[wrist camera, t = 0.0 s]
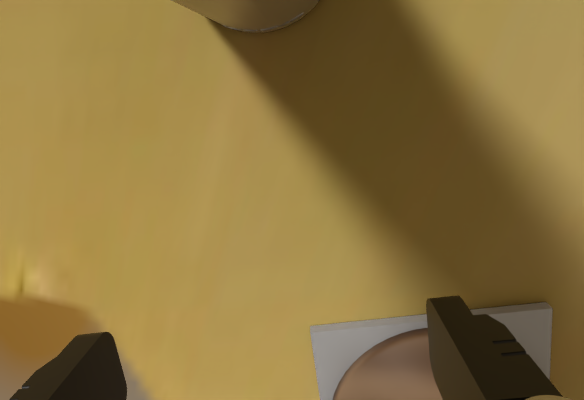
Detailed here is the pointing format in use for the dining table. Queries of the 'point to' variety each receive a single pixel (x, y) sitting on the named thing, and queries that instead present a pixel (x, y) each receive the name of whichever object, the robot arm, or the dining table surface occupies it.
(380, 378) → the lid
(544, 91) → the dining table surface
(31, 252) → the dining table surface
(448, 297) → the robot arm
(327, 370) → the mat
